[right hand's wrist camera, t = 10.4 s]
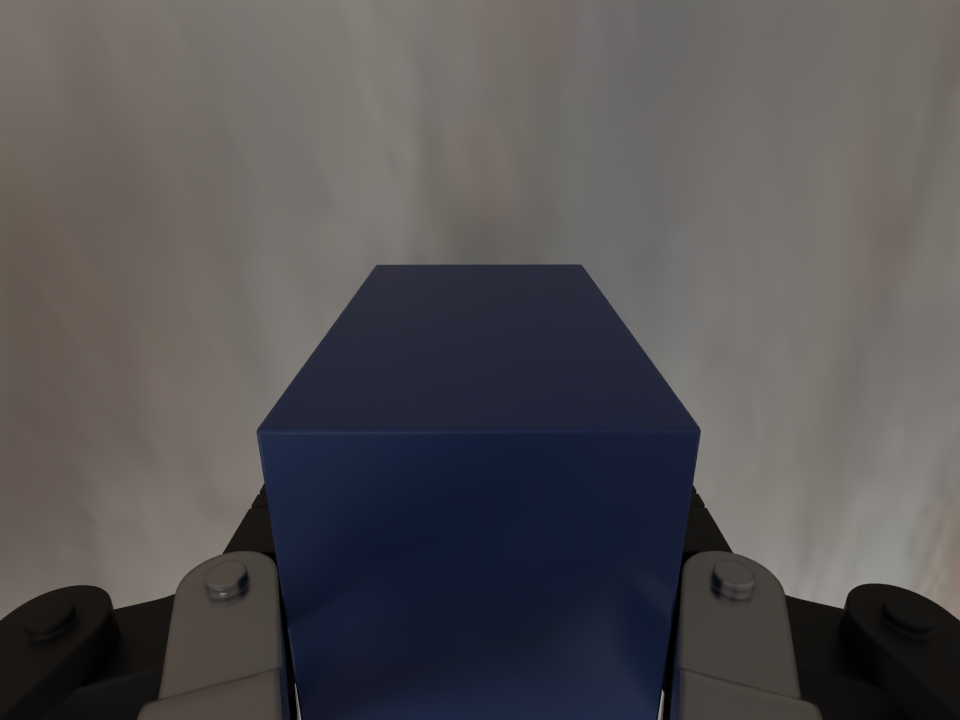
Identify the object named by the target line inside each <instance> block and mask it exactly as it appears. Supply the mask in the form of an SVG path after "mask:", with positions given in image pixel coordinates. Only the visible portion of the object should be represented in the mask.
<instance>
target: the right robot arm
mask: <svg viewBox="0 0 960 720" xmlns="http://www.w3.org/2000/svg"><path fill="white" fill-rule="evenodd" d="M295 683H296V682H295V675H294V669H293V662H292V656H291V650H290V643H289V637H288V630H287V624H286V617H285V611H284V604H283V598H282V592H281V585H280V579H279V572H278V566H277V559H276V553H275V547H274V540H273V534H272V527H271V521H270V514H269V508H268V502H267V495H266V489H265V483H264V485H263V487H262V489H261V490H260V494H258V495H257V497H256V499H255V500H254V502H253V504H252V508H251V509H249V510H248V512H247V514H246V515H245V517H244V519H243V520H242V522H241V524H240V525H239V527H238V529H237V530H236V532H235V534H234V535H233V537H232V539H231V540H230V542H229V544H228V546H227V547H226V549H225V551H224V552H223V554H222V555H219V556H216V557H213V558H211V559H209V560H207V561H205V562H203V563H201V564H199V565H198V566H196V567H195V568H194V569H192V570H191V571H190V572H189V573H188V574H187V575H186V576H185V577H184V578H183V579H182V580H181V582H180V583H179V585H178V587H177V590H176V593H175V594H173V595H171V596H168V597H165V598H161V599H158V600H154V601H150V602H145V603H141V604H136V605H132V606H128V607H123V608H119V609H113V605H112V602H111V599H110V596H109V594H108V593H107V592H106V591H104V590H103V589H101V588H98V587H95V586H88V585H78V586H70V587H65V588H60V589H57V590H54V591H50V592H48V593H45V594H43V595H40V596H38V597H36V598H34V599H32V600H30V601H28V602H26V603H25V604H23V605H21V606H19V607H18V608H17V609H15V610H14V611H12V612H11V613H10V614H8V615H7V616H6V617H4V618H3V619H2V620H1V621H0V720H299V710H298V701H297V695H296V688H295ZM662 689H663V692H664V695H663V701H662V710H661V720H960V621H959V620H958V619H957V618H956V617H954V616H953V615H952V614H950V613H949V612H948V611H946V610H945V609H944V608H942V607H941V606H939V605H938V604H936V603H935V602H933V601H931V600H929V599H928V598H926V597H924V596H921V595H919V594H917V593H915V592H912V591H910V590H907V589H904V588H900V587H897V586H892V585H887V584H863V585H860V586H857V587H855V588H854V589H852V590H851V591H850V592H849V594H848V596H847V599H846V603H845V606H844V609H841V608H837V607H832V606H828V605H824V604H819V603H815V602H810V601H806V600H802V599H798V598H794V597H790V596H787V595H785V593H784V590H783V587H782V585H781V583H780V582H779V581H778V579H777V578H776V577H775V576H774V575H773V574H772V573H771V572H770V571H769V570H768V569H766V568H765V567H764V566H762V565H761V564H759V563H757V562H755V561H753V560H751V559H749V558H747V557H744V556H741V555H738V554H734V553H733V552H732V550H731V549H730V547H729V545H728V544H727V542H726V540H725V538H724V537H723V535H722V533H721V532H720V530H719V528H718V527H717V525H716V523H715V521H714V520H713V518H712V516H711V515H710V513H709V511H708V510H707V508H705V507H704V503H703V501H702V499H701V498H700V496H699V494H696V489H695V487H694V486H692V493H691V500H690V506H689V513H688V520H687V526H686V533H685V540H684V547H683V553H682V560H681V567H680V573H679V580H678V587H677V593H676V600H675V607H674V613H673V620H672V627H671V633H670V640H669V647H668V653H667V660H666V667H665V673H664V680H663V687H662Z"/></svg>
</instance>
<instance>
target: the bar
mask: <svg viewBox="0 0 960 720" xmlns="http://www.w3.org/2000/svg"><path fill="white" fill-rule="evenodd" d="M700 433H701V430H700V428H699V426H698V425H697V423H696V422H695V421H694V419H693V418H692V416H691V415H690V414H689V412H688V411H687V410H686V408H685V407H684V405H683V404H682V403H681V401H680V400H679V399H678V397H677V396H676V394H675V393H674V392H673V390H672V389H671V387H670V386H669V385H668V383H667V382H666V381H665V379H664V378H663V376H662V375H661V374H660V372H659V371H658V370H657V368H656V367H655V365H654V364H653V363H652V361H651V360H650V359H649V357H648V356H647V354H646V353H645V352H644V350H643V349H642V347H641V346H640V345H639V343H638V342H637V341H636V339H635V338H634V336H633V335H632V334H631V332H630V331H629V330H628V328H627V327H626V325H625V324H624V323H623V321H622V320H621V318H620V317H619V316H618V314H617V313H616V312H615V310H614V309H613V307H612V306H611V305H610V303H609V302H608V301H607V299H606V298H605V296H604V295H603V294H602V292H601V291H600V290H599V288H598V287H597V285H596V284H595V283H594V281H593V280H592V278H591V277H590V276H589V274H588V273H587V272H586V270H585V269H584V267H583V266H582V265H377V266H376V267H375V268H374V269H373V271H372V272H371V273H370V275H369V276H368V278H367V279H366V280H365V282H364V283H363V284H362V286H361V287H360V289H359V290H358V291H357V293H356V294H355V295H354V297H353V298H352V300H351V301H350V302H349V304H348V305H347V307H346V308H345V309H344V311H343V312H342V313H341V315H340V316H339V318H338V319H337V320H336V322H335V323H334V324H333V326H332V327H331V329H330V330H329V331H328V333H327V334H326V335H325V337H324V338H323V340H322V341H321V342H320V344H319V345H318V346H317V348H316V349H315V351H314V352H313V353H312V355H311V356H310V357H309V359H308V360H307V362H306V363H305V364H304V366H303V367H302V368H301V370H300V371H299V373H298V374H297V375H296V377H295V378H294V379H293V381H292V382H291V384H290V385H289V386H288V388H287V389H286V391H285V392H284V393H283V395H282V396H281V397H280V399H279V400H278V402H277V403H276V404H275V406H274V407H273V408H272V410H271V411H270V413H269V414H268V415H267V417H266V418H265V419H264V421H263V422H262V424H261V425H260V426H259V428H258V430H257V437H258V444H259V450H260V456H261V463H262V469H263V476H264V482H265V489H266V495H267V502H268V508H269V514H270V521H271V527H272V534H273V540H274V547H275V553H276V559H277V566H278V572H279V579H280V585H281V592H282V598H283V604H284V611H285V617H286V624H287V630H288V637H289V643H290V650H291V656H292V662H293V669H294V675H295V682H296V688H297V695H298V701H299V707H300V714H301V720H658V713H659V707H660V700H661V693H662V687H663V680H664V673H665V667H666V660H667V653H668V647H669V640H670V633H671V627H672V620H673V613H674V607H675V600H676V593H677V587H678V580H679V573H680V567H681V560H682V553H683V547H684V540H685V533H686V526H687V520H688V513H689V506H690V500H691V493H692V486H693V480H694V473H695V466H696V460H697V453H698V446H699V440H700Z"/></svg>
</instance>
